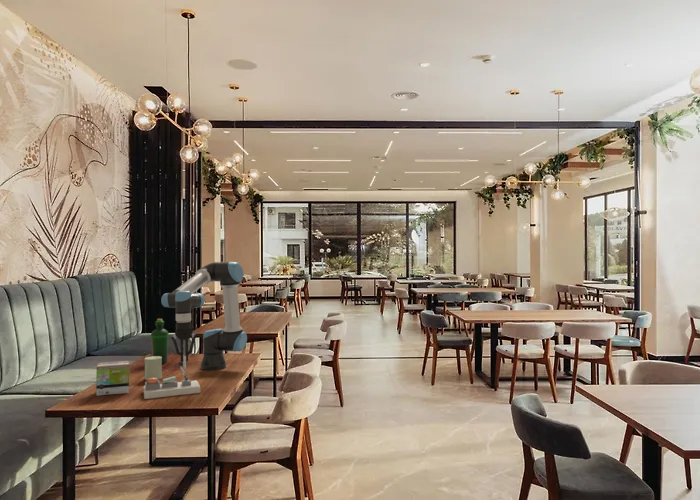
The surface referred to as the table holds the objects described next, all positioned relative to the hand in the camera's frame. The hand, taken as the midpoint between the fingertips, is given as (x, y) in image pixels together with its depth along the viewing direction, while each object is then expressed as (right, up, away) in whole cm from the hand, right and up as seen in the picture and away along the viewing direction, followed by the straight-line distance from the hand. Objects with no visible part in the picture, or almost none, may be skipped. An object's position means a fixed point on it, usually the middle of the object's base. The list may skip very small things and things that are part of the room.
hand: (184, 368), depth 259 cm
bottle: (-38, -13, +68) cm, 79 cm away
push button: (-14, -7, -6) cm, 17 cm away
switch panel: (-6, -12, -2) cm, 13 cm away
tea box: (-36, -12, -1) cm, 38 cm away
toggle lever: (+1, -5, +1) cm, 5 cm away
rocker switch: (-7, -5, -3) cm, 9 cm away
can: (-26, -12, +27) cm, 40 cm away
